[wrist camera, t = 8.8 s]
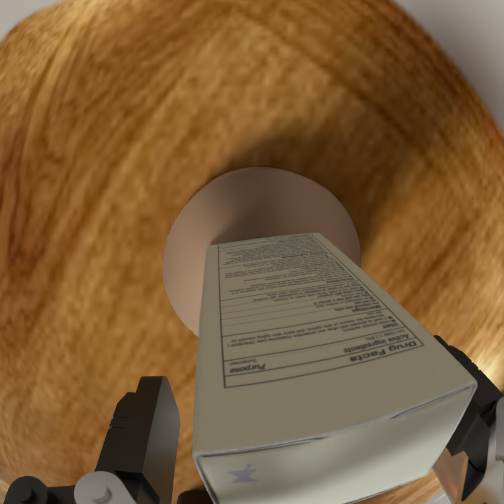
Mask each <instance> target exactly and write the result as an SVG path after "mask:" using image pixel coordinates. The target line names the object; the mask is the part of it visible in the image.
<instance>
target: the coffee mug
mask: <svg viewBox="0 0 504 504" xmlns="http://www.w3.org/2000/svg"><path fill="white" fill-rule="evenodd" d="M177 504H214V503H213V501H212V499H211V497H210V495H209V493H208V491H187V492H184V493H181V494H180V495H179V496H178V500H177Z"/></svg>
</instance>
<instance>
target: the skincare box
mask: <svg viewBox="0 0 504 504" xmlns="http://www.w3.org/2000/svg"><path fill="white" fill-rule="evenodd" d="M477 386H478V384H477V381H476V379H475V378H474V377H473V376H472V375H471V374H470V373H469V372H468V371H467V370H466V369H465V368H464V367H463V366H462V365H461V364H460V363H459V362H458V361H457V360H456V359H455V358H454V357H453V356H452V355H451V354H450V353H449V352H448V351H447V350H446V349H445V347H444V346H443V345H441V344H440V343H439V342H438V341H437V340H436V339H435V338H434V337H433V336H432V335H431V334H430V333H429V332H428V331H427V330H426V329H425V328H424V327H423V326H422V325H421V324H420V323H419V322H418V321H417V320H416V319H415V318H414V317H413V316H412V315H411V314H410V313H408V312H407V311H406V310H405V309H404V308H403V307H402V306H401V305H400V304H399V303H398V302H397V301H396V300H395V299H394V298H393V297H392V296H390V295H389V294H388V293H387V292H386V291H385V290H384V289H383V288H382V287H381V286H380V285H378V284H377V283H376V282H375V281H374V280H373V279H372V278H371V277H370V276H369V275H367V274H366V273H365V272H364V271H363V270H362V269H361V268H360V267H358V266H357V265H356V264H355V263H354V262H353V261H352V260H351V259H349V258H348V257H347V256H346V255H345V254H344V253H343V252H341V251H340V250H339V249H338V248H337V247H336V246H334V245H333V244H332V243H331V242H330V241H329V240H327V239H326V238H325V237H324V236H323V235H322V234H320V233H304V234H293V235H283V236H274V237H266V238H258V239H250V240H243V241H236V242H230V243H223V244H218V245H211V246H208V247H207V248H206V254H205V264H204V273H203V285H202V295H201V306H200V318H199V333H198V347H197V363H196V381H195V400H194V419H193V441H192V455H193V460H194V462H195V464H196V467H197V468H198V471H199V474H200V476H201V479H202V480H203V483H204V485H205V487H206V490H207V491H208V493H209V495H210V497H211V499H212V501H213V503H214V504H352V503H356V502H358V501H362V500H365V499H368V498H371V497H374V496H376V495H379V494H382V493H385V492H387V491H390V490H392V489H395V488H398V487H400V486H402V485H405V484H408V483H410V482H412V481H414V480H417V479H419V478H421V477H424V476H426V475H427V474H428V473H429V471H430V470H431V468H432V467H433V465H434V463H435V462H436V460H437V459H438V457H439V456H440V454H441V453H442V451H443V450H444V448H445V446H446V445H447V443H448V442H449V440H450V438H451V436H452V434H453V433H454V431H455V429H456V427H457V426H458V424H459V422H460V420H461V418H462V417H463V415H464V413H465V411H466V409H467V407H468V405H469V403H470V401H471V399H472V397H473V395H474V393H475V391H476V389H477Z"/></svg>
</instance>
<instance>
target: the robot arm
mask: <svg viewBox="0 0 504 504" xmlns="http://www.w3.org/2000/svg"><path fill="white" fill-rule="evenodd" d="M433 337H434V338H435V339H436V340H437V341H438V342H439V343H440V344H441V345H443V346H444V347H445V349H446V350H447V351H448V352H449V353H450V354H451V355H452V356H453V357H454V358H455V359H456V360H457V361H458V362H459V363H460V364H461V365H462V366H463V367H464V368H465V369H466V370H467V371H468V372H469V373H470V374H471V375H472V376H473V377H474V378H475V379H476V381H477V384H478V386H477V389H476V391H475V393H474V395H473V397H472V399H471V401H470V403H469V405H468V407H467V409H466V411H465V413H464V415H463V417H462V418H461V420H460V422H459V424H458V426H457V427H456V429H455V431H454V433H453V434H452V436H451V438H450V440H449V442H448V443H447V445H446V446H445V448H444V450H443V451H442V453H441V454H440V456H439V457H438V459H437V460H436V462H435V463H434V465H433V467H432V469H433V471H434V472H435V474H436V475H437V477H438V479H439V481H440V483H441V485H442V487H443V489H444V490H445V492H446V494H447V496H448V498H449V500H450V502H451V504H504V395H503V394H502V393H501V392H500V391H499V389H498V388H497V387H496V386H495V385H494V384H493V383H492V382H491V381H490V380H489V379H488V378H487V376H486V375H485V374H484V373H483V372H482V371H481V370H478V367H477V366H476V365H475V364H474V363H472V362H471V360H470V359H469V358H468V357H467V356H466V355H465V354H464V353H463V352H462V351H460V350H458V349H457V348H455V347H453V346H451V345H450V346H449V345H448V344H447V343H446V342H445V341H444V340H443V339H442V338H441V337H440V336H438V335H434V336H433ZM109 427H110V429H108V432H107V435H106V438H105V441H104V444H103V447H102V450H101V454H100V457H99V460H98V463H97V466H96V469H95V471H94V472H91V473H89V474H86V475H85V476H83V477H82V478H81V479H80V480H79V481H78V482H77V484H76V485H73V486H61V487H46V486H45V485H44V484H43V483H42V482H41V481H40V480H39V479H37V478H35V477H32V476H24V477H20V478H18V479H16V480H15V481H14V482H13V483H12V484H11V485H10V487H9V489H8V492H7V495H6V497H5V500H4V503H3V504H171V501H172V490H173V480H174V471H175V462H176V453H177V445H178V437H179V429H180V418H179V411H178V408H177V405H176V402H175V399H174V396H173V393H172V390H171V387H170V384H169V381H168V379H167V377H166V376H143V377H141V379H140V381H139V384H138V387H137V390H136V393H133V392H127V393H126V395H125V396H124V397H123V398H122V399H121V400H120V401H119V402H118V403H117V406H116V409H115V412H114V415H113V419H112V420H111V423H110V426H109Z"/></svg>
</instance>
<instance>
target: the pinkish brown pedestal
mask: <svg viewBox="0 0 504 504" xmlns="http://www.w3.org/2000/svg"><path fill="white" fill-rule="evenodd" d="M304 233H320V234H322V235H323V236H324V237H325V238H326V239H327V240H329V241H330V242H331V243H332V244H333V245H334V246H336V247H337V248H338V249H339V250H340V251H341V252H343V253H344V254H345V255H346V256H347V257H348V258H349V259H351V260H352V261H353V262H354V263H355V264H356V265H357V266H358V267H361V249H360V243H359V238H358V235H357V231H356V228H355V226H354V224H353V221H352V219H351V217H350V215H349V214H348V212H347V211H346V209H345V208H344V206H343V205H342V204H341V203H340V202H339V201H338V200H337V198H336V197H335V196H334V195H333V194H331V193H330V192H329V191H328V190H327V189H325V188H324V187H322V186H321V185H319V184H318V183H316V182H314V181H313V180H310V179H308V178H306V177H303V176H301V175H299V174H296V173H293V172H291V171H288V170H284V169H280V168H276V167H268V166H251V167H244V168H239V169H236V170H232V171H229V172H226V173H224V174H222V175H220V176H218V177H216V178H214V179H213V180H211V181H209V182H208V183H206V184H205V185H204V186H203V187H202V188H200V189H199V190H198V191H197V192H196V193H195V194H194V195H193V196H192V197H191V199H190V200H189V201H188V202H187V204H186V205H185V207H184V208H183V210H182V211H181V213H180V214H179V216H178V217H177V219H176V220H175V222H174V224H173V226H172V228H171V230H170V232H169V234H168V237H167V241H166V244H165V248H164V254H163V271H162V272H163V280H164V286H165V289H166V293H167V296H168V298H169V301H170V303H171V305H172V307H173V309H174V311H175V312H176V314H177V315H178V317H179V318H180V319H181V321H182V322H183V323H184V324H185V326H186V327H187V328H189V329H190V330H191V331H192V332H193V333H194V334H195V335H196V336H198V333H199V318H200V306H201V295H202V285H203V273H204V264H205V254H206V248H207V247H208V246H211V245H218V244H223V243H230V242H236V241H243V240H250V239H258V238H266V237H274V236H283V235H293V234H304Z"/></svg>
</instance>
